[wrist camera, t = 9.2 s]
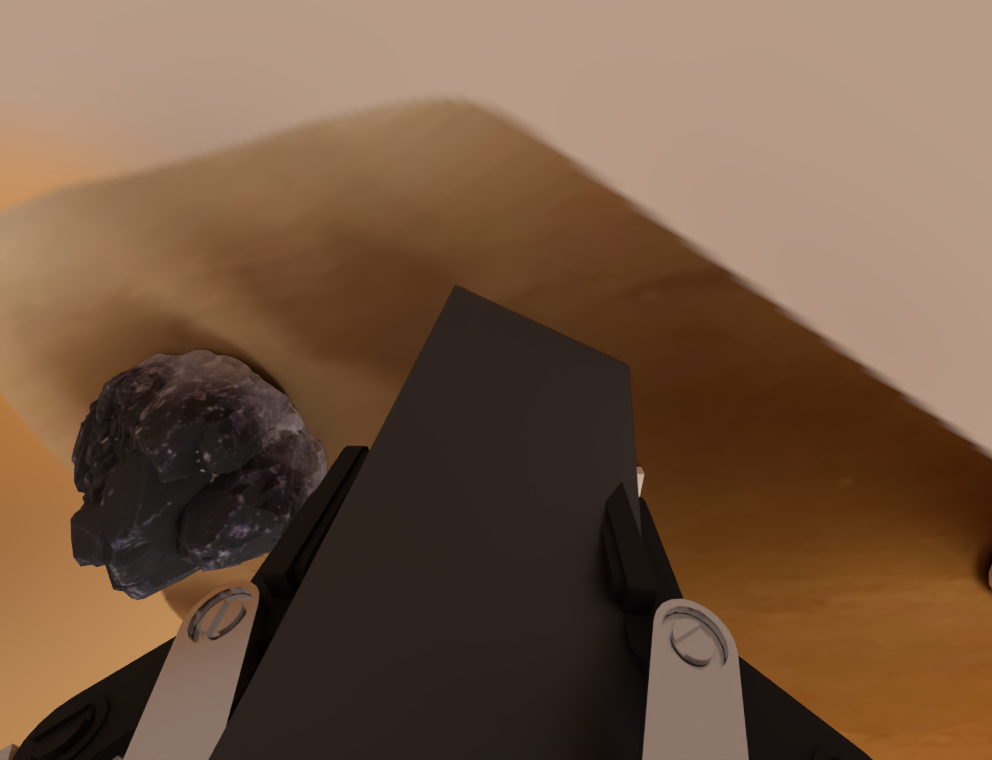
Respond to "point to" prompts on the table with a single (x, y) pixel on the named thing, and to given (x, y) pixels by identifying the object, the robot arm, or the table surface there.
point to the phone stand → (466, 568)
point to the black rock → (188, 470)
